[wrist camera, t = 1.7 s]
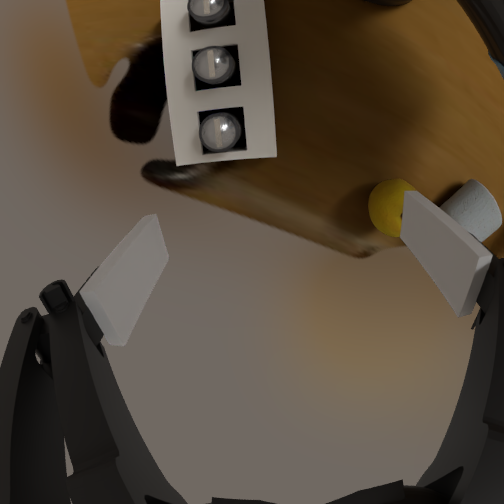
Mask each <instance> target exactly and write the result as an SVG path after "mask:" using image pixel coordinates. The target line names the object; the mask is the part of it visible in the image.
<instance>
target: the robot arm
mask: <svg viewBox="0 0 504 504" xmlns="http://www.w3.org/2000/svg"><path fill="white" fill-rule="evenodd" d="M364 1H367V2H370V3H374V4H379V5H388V6H395V5H402V4H406V3H408V2H410V1H412V0H364ZM457 2H458V3H459V4H460V6H461V7H462V8H463V10H464V11H465V13H466V14H467V16H468V17H469V19H470V20H471V22H472V23H473V25H474V26H475V28H476V30H477V31H478V33H479V34H480V36H481V38H482V40H483V41H484V43H485V45H486V47H487V49H488V54H489V56H490V58H491V60H492V61H493V62H494V63H495V64H496V66H497V67H498V69H499V71H500V73H501V75H502V77H503V79H504V0H457ZM400 238H401V239H402V241H403V242H404V243H405V244H406V245H407V247H408V248H409V249H410V250H411V252H412V253H413V254H414V256H415V257H416V258H417V259H418V261H419V262H420V263H421V265H422V266H423V267H424V269H425V270H426V271H427V273H428V274H429V275H430V277H431V278H432V280H433V281H434V282H435V284H436V285H437V286H438V288H439V290H440V291H441V292H442V294H443V295H444V297H445V298H446V300H447V301H448V303H449V304H450V306H451V307H452V309H453V310H454V312H455V313H456V315H457V317H462V316H465V315H469V314H471V313H472V311H473V309H474V306H475V304H476V302H477V303H478V305H479V306H480V307H481V308H480V310H479V312H478V315H477V317H476V319H475V321H474V323H473V325H472V328H471V329H474V327H475V326H476V328H475V334H474V339H473V345H472V350H471V354H470V359H469V363H468V368H467V372H466V376H465V379H464V383H463V387H462V390H461V393H460V396H459V400H458V403H457V406H456V409H455V411H454V414H453V417H452V420H451V423H450V425H449V428H448V430H447V433H446V435H445V438H444V440H443V442H442V445H441V447H440V449H439V451H438V454H437V456H436V458H435V459H434V461H433V463H432V464H431V465H430V467H429V468H428V469H427V470H426V471H425V473H424V474H423V475H422V477H421V478H420V480H419V482H418V483H417V485H416V486H407V485H406V486H403V480H399V481H396V482H392V483H389V484H385V485H382V486H377V487H373V488H369V489H364V490H360V491H357V492H355V493H353V494H350V495H347V496H345V497H342V498H340V499H337V500H335V501H332V502H329V503H326V504H504V258H501V259H498V258H497V257H496V256H495V255H494V254H493V253H492V252H491V251H490V250H489V249H488V248H487V247H486V246H483V244H482V243H481V242H480V241H478V239H477V238H476V237H475V236H474V235H473V234H471V233H469V232H468V231H466V230H465V229H464V228H463V227H462V226H461V225H459V224H458V223H457V222H456V221H455V220H454V219H452V218H451V217H450V216H449V215H447V214H446V213H445V212H444V211H443V210H441V209H440V208H439V207H437V206H436V205H435V204H434V203H432V202H431V201H430V200H428V199H427V198H426V197H424V196H423V195H422V194H420V193H419V192H418V191H404V204H403V215H402V225H401V233H400ZM168 260H169V255H168V252H167V249H166V245H165V242H164V239H163V235H162V232H161V229H160V225H159V221H158V218H157V214H153V215H146V216H143V218H142V219H141V220H140V221H139V222H138V223H137V224H136V225H135V226H134V227H133V228H132V229H131V230H130V232H129V233H128V234H127V235H126V236H125V237H124V238H123V240H122V241H121V242H120V243H119V244H118V245H117V246H116V248H115V249H114V250H113V251H112V252H111V253H110V254H109V256H108V257H107V258H106V259H105V260H104V262H103V263H102V264H101V265H100V266H99V267H98V268H96V269H95V271H94V272H93V273H92V274H91V277H89V278H88V279H87V280H86V282H85V283H84V284H83V285H82V287H81V288H80V289H79V291H78V292H77V293H76V294H75V296H74V297H73V295H72V293H71V291H70V289H69V287H68V286H67V283H66V282H65V280H57V281H54V282H53V283H51V284H49V285H47V286H46V287H45V288H44V289H43V290H42V291H41V293H40V295H39V298H40V300H41V301H42V303H43V305H44V306H45V308H46V310H47V311H48V313H49V314H48V315H44V316H41V315H40V313H39V312H38V310H37V308H35V307H31V308H29V309H25V310H24V311H23V312H21V314H20V315H19V317H18V318H17V320H16V323H15V325H14V327H13V331H12V333H11V336H10V339H9V341H8V344H7V348H6V351H5V354H4V357H3V360H2V364H1V367H0V504H71V502H70V498H71V501H72V503H73V504H187V502H186V501H185V500H184V499H183V497H182V496H181V495H180V494H179V493H178V492H177V491H176V490H175V489H174V488H173V487H172V486H171V485H170V484H169V483H168V481H167V480H166V479H165V477H164V475H163V474H162V472H161V470H160V469H159V467H158V466H157V464H156V462H155V460H154V459H153V457H152V455H151V453H150V452H149V450H148V448H147V446H146V444H145V442H144V441H143V439H142V437H141V435H140V433H139V431H138V429H137V427H136V425H135V423H134V421H133V419H132V416H131V414H130V412H129V410H128V408H127V406H126V404H125V401H124V399H123V396H122V394H121V392H120V389H119V387H118V385H117V382H116V379H115V377H114V375H113V371H112V369H111V366H110V363H109V361H108V358H107V355H106V352H105V349H104V347H103V345H102V344H101V342H100V341H101V339H102V337H103V335H104V336H105V338H106V339H107V341H108V342H109V344H110V345H116V346H125V345H126V343H127V341H128V338H129V336H130V334H131V332H132V330H133V328H134V326H135V324H136V322H137V319H138V318H139V316H140V314H141V312H142V310H143V308H144V306H145V304H146V302H147V300H148V298H149V296H150V294H151V292H152V290H153V288H154V286H155V284H156V282H157V281H158V279H159V277H160V275H161V273H162V271H163V269H164V267H165V265H166V264H167V262H168ZM35 353H36V354H37V355H38V357H39V358H40V359H41V360H40V364H39V363H38V361H37V359H36V356H35ZM64 438H65V442H66V445H67V449H68V452H69V456H70V459H71V462H72V465H73V470H74V472H73V474H72V475H70V476H68V477H67V473H66V462H65V446H64ZM208 504H275V503H270V502H265V501H261V500H240V499H239V500H238V499H224V498H214V497H212V503H208Z"/></svg>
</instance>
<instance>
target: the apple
mask: <svg viewBox="0 0 504 504" xmlns="http://www.w3.org/2000/svg"><path fill="white" fill-rule="evenodd" d="M404 191H417V190H416V189H415V188H414V187H413V186H411V185H410V184H409V183H407V182H406V181H404V180H402V179H399V178H396V179H390V180H385V181H383V182H381V183H379V184H378V185H376V186H375V188H374V189H373V190H372V192H371V194H370V197H369V201H368V209H369V215H370V218H371V221H372V223H373V224H374V226H375V227H376V228H377V229H378V230H380V231H381V232H382V233H384V234H386V235H388V236H390V237H400V233H401V225H402V215H403V204H404Z"/></svg>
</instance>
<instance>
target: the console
mask: <svg viewBox="0 0 504 504" xmlns="http://www.w3.org/2000/svg"><path fill="white" fill-rule="evenodd" d="M188 1H189V0H160V6H161V28H162V44H163V58H164V69H165V80H166V90H167V99H168V108H169V115H170V124H171V131H172V139H173V146H174V153H175V159H176V166H180V165H188V164H196V163H205V162H215V161H225V160H237V159H250V158H266V157H277V148H276V132H275V117H274V103H273V90H272V78H271V66H270V55H269V45H268V34H267V25H266V15H265V6H264V0H228V3H229V2H234V10H235V20H236V25H233V26H224V27H217V28H210V29H204V30H199V31H193V32H191V23H190V13H189V12H188V9H187V4H188ZM233 45H238V53H239V64H240V75H241V86H231V87H222V88H214V89H207V90H200V91H196V83H195V75H194V73H193V71H192V60H193V51H198V50H201V49H203V48H205V47H208V46H219V47H225V46H233ZM232 107H243V109H244V120H245V132H246V143H247V147H240V148H231V149H229V150H227V151H224V152H214V151H211V150H209V151H203V146H202V143H201V141H200V138H199V128H200V120H199V111H206V110H214V109H223V108H232Z"/></svg>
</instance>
